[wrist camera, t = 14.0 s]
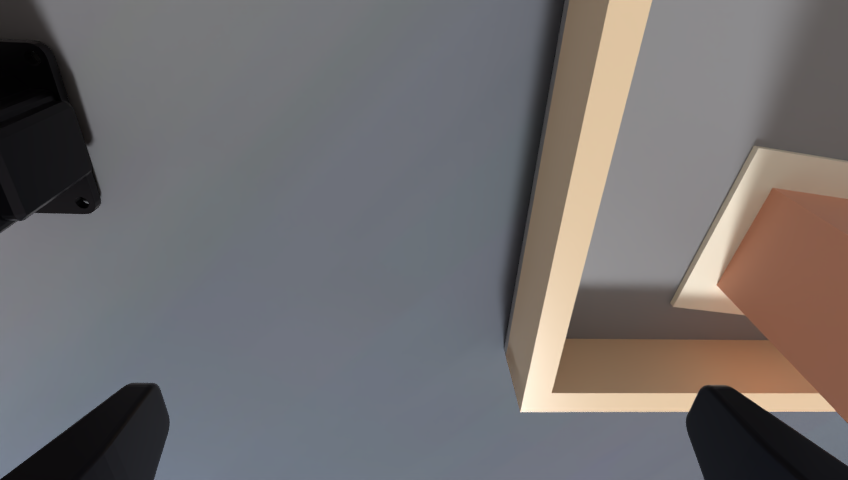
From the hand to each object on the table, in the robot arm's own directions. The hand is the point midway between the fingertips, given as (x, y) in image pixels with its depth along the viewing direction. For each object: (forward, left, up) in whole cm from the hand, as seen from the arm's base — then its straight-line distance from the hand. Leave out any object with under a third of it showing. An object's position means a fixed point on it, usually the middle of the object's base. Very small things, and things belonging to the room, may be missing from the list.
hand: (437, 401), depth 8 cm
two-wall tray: (+14, -2, -13) cm, 19 cm away
